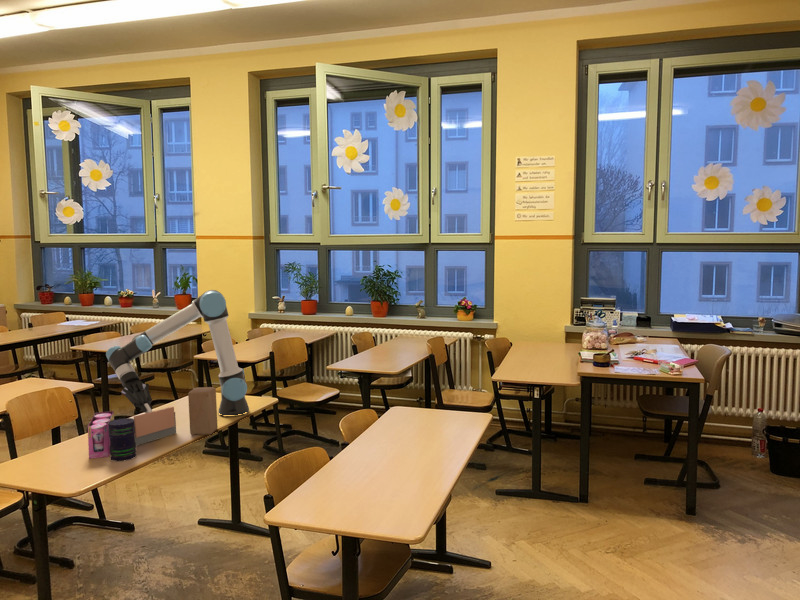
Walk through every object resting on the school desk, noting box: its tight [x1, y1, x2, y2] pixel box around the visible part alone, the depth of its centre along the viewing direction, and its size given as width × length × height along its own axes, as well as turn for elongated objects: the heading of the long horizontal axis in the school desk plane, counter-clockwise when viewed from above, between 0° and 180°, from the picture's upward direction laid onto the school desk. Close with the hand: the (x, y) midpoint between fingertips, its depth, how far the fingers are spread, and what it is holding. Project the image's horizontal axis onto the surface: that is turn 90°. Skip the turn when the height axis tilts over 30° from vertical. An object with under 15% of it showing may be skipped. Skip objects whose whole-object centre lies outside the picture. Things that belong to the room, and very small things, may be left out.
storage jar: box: [108, 417, 137, 462], centre depth 252 cm, size 10×10×15 cm
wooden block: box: [187, 386, 218, 436], centre depth 284 cm, size 10×10×20 cm
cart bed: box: [134, 411, 177, 447], centre depth 276 cm, size 22×9×10 cm, turn 146°
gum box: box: [87, 410, 115, 459], centre depth 262 cm, size 24×8×14 cm, turn 19°
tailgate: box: [133, 406, 176, 438], centre depth 273 cm, size 19×1×9 cm, turn 146°
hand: (151, 416), depth 274 cm, fingers closed
